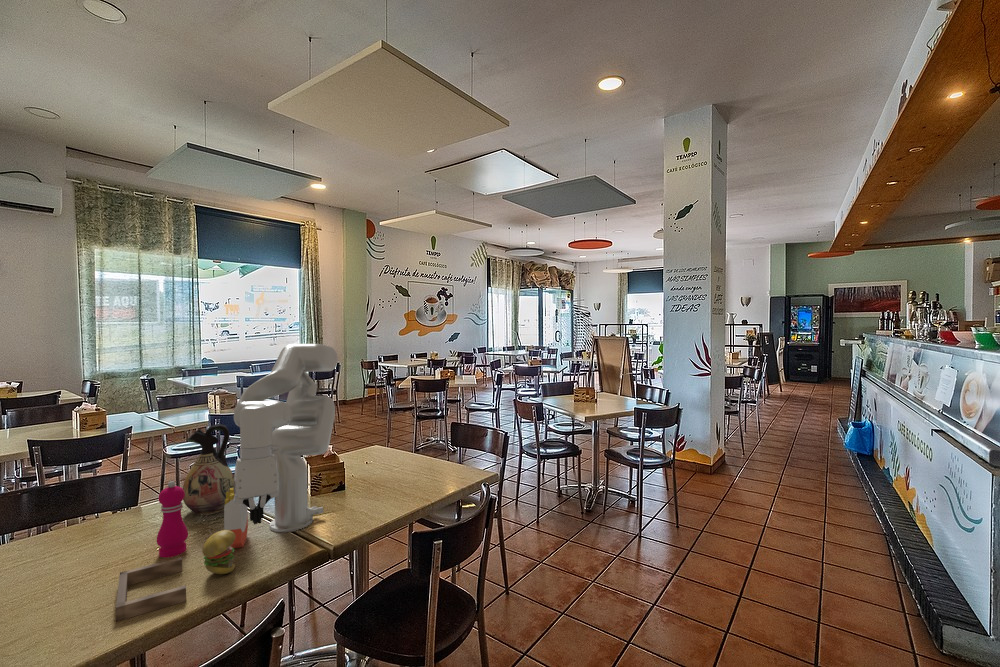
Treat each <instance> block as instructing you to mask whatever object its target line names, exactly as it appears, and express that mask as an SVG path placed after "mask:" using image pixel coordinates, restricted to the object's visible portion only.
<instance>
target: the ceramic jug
mask: <svg viewBox="0 0 1000 667" xmlns="http://www.w3.org/2000/svg"><path fill="white" fill-rule="evenodd" d="M215 431H221V432H223V439H222V442H221V446H220V448H219V451H218V452H217V450H216V449H215V447H214V445H216V444H219V439H218V438H217V437H216V436H215V435H213V434H212V432H215ZM229 439H230V430H229V428H228V427H227V426H226V425H225V424H222V423H216V424H212V425H210V426H209V427H208V428H207V429H206V431H205V432H204V431H203V430H202V429H201V428H199V429H197V430H196V431H194V432H193V433H192V435H190V436H189V437H188V438H187V439H186V442H189V443H193V444H198V445H199V446H201V451H200V454H199V455H198V457H197V458H196V460H195V461H194V463H193V464H192V465H191V467H190V469H189V471H188V472H187V474H186V476H185V478H184V481H183V485H182V489H183V490H184V492H185V497H184V499H183V500H182V502H183V504H185V506H186V507H187V508H188V509H189V510H191V512H193V513H194V515H196V516H208V515H213V514H217V513H220V512H223V511H224V506H225V499H226V492H230V490H229V489H230V488H234V473H233V471H232V470H231V468H230V466H229V465H228V463H227V459H226V456H225V451H226V448H227V446H228V443H229V441H230V440H229Z"/></svg>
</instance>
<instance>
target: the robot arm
mask: <svg viewBox="0 0 1000 667" xmlns="http://www.w3.org/2000/svg"><path fill="white" fill-rule="evenodd" d="M337 365H338V353H337V351H336V349H335V348H334V347H332V346H330V345H326V344H322V343H292V344H287V345H286V346H284V347H283V348H282V349H281V351H280V352H279V354H278V356H277V358H276V361H275V363H274V365H273V366H272V369H271V371H270V373H269V374H267V375H265V376H262V377H261V378H259V379H258V380H257V381H255V382H254V383H252V384H251V385H249V386H248V387H247V388H246V389H244V391H243V392H242V394H241V395H240V397H239V399H238V401H237V403H236V406H235V408H234V412H233V422H234V423H235V425H236V426H237V427H239V432H240V433H239V434H240V435H239V437H240V438H239V440H240V441H239V448H240V449H239V450H240V452H239V454H240V457H239V458H237V459H236V461H235V466H234V474H233V476H234V494H235V496H234V500H233V502H234V504H244V505H246V506H247V507H248V508H249V520H250V522H252V523H253V525H257V524H262V519H264V516H265V515H264V513H265V512H264V508H265V506H266V504H268V503H269V501H270V500H271V499H274V519H273V520H271V521H270V523H269V530H271V531H272V532H275V533H280V532H281V533H283V534H284V533H292V532H297V531H299V530H298V529H301V530H303V529H305V528H304V527H306V528H307V526H308V525H309V526H310V525H311V524H312V523H313V522H314V517H313V516H314V515H319V514H320V515H321V514H323V513H324V507H323V506H320V507H318V506H317V505H315V506H312V507H309V506H308V505H309V504H308V466H307V464H306V462H305V460H303V458H302V456H317V455H322V454H323V455H324V454H325V453H326V452H327V451H328V449H329V445H330V443H331V439H332V438H331V436H332V432H333V427H334V423H335V418H336V417H335V415H336V405H335V402H334V400H333V398H331V397H330V396H326V395H316V394H317V389H318V386H317V384H316V383H315V381H314V380H313V379H312V378H311V376H309V374H308V373H309V372H332V371H333V370H335V369H336V367H337ZM307 372H308V373H307ZM286 393H288V395H287V398H286V401H282V400H269V399H271V398H274V397H277V396H281V395H284V394H286ZM273 429H274V430H273ZM255 498H258V501H257V503H256V504H255ZM309 526H308V527H309ZM302 528H303V529H302ZM296 530H297V531H296Z"/></svg>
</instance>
